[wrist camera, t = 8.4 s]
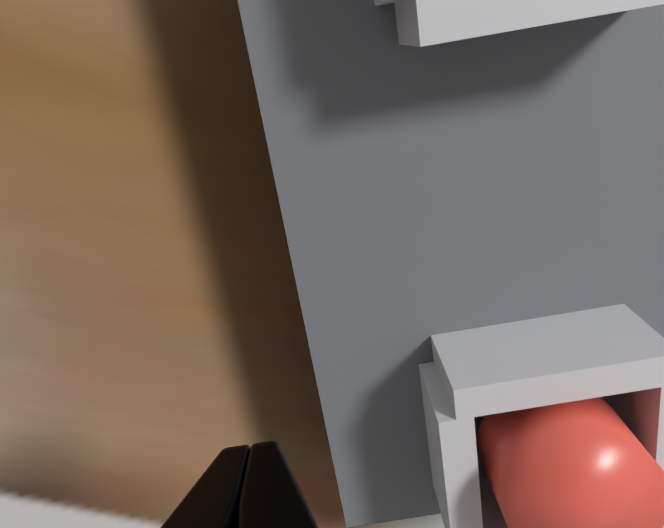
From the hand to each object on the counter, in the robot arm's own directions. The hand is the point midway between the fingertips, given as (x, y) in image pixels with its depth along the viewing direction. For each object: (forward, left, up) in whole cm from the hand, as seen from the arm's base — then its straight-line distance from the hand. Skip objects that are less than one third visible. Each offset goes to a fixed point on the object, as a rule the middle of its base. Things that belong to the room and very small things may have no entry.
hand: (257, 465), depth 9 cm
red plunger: (+7, -7, -8) cm, 13 cm away
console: (+7, +1, -13) cm, 15 cm away
